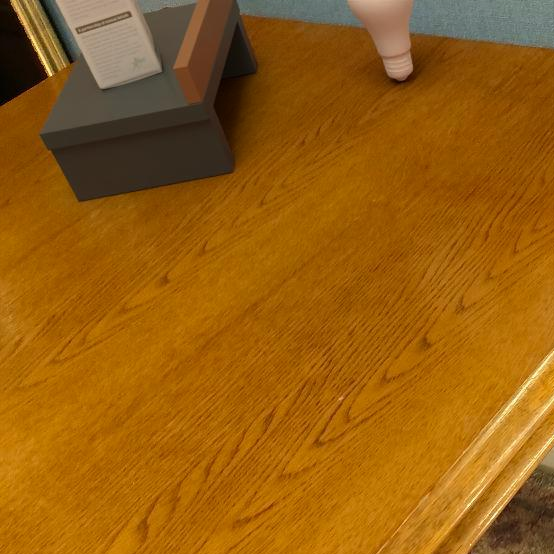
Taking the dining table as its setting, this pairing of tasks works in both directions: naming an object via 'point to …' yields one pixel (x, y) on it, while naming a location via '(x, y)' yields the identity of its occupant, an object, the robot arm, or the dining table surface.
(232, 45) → the grey lidded gift box
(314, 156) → the dining table surface
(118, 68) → the syrup box
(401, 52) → the lightbulb
